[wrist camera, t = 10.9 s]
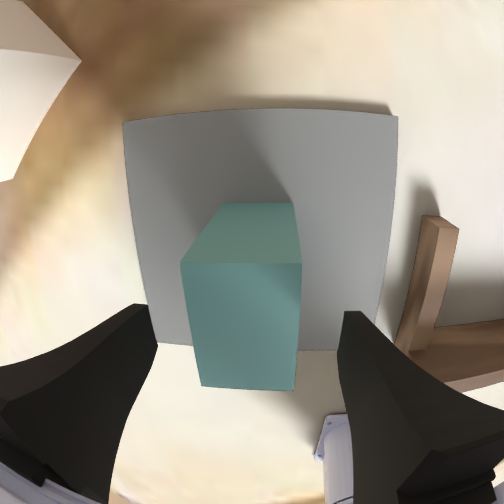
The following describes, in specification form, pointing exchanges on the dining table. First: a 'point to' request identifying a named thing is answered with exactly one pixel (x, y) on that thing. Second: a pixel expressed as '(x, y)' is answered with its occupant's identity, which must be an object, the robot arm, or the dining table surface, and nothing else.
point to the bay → (449, 337)
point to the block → (245, 297)
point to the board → (267, 191)
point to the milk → (27, 79)
